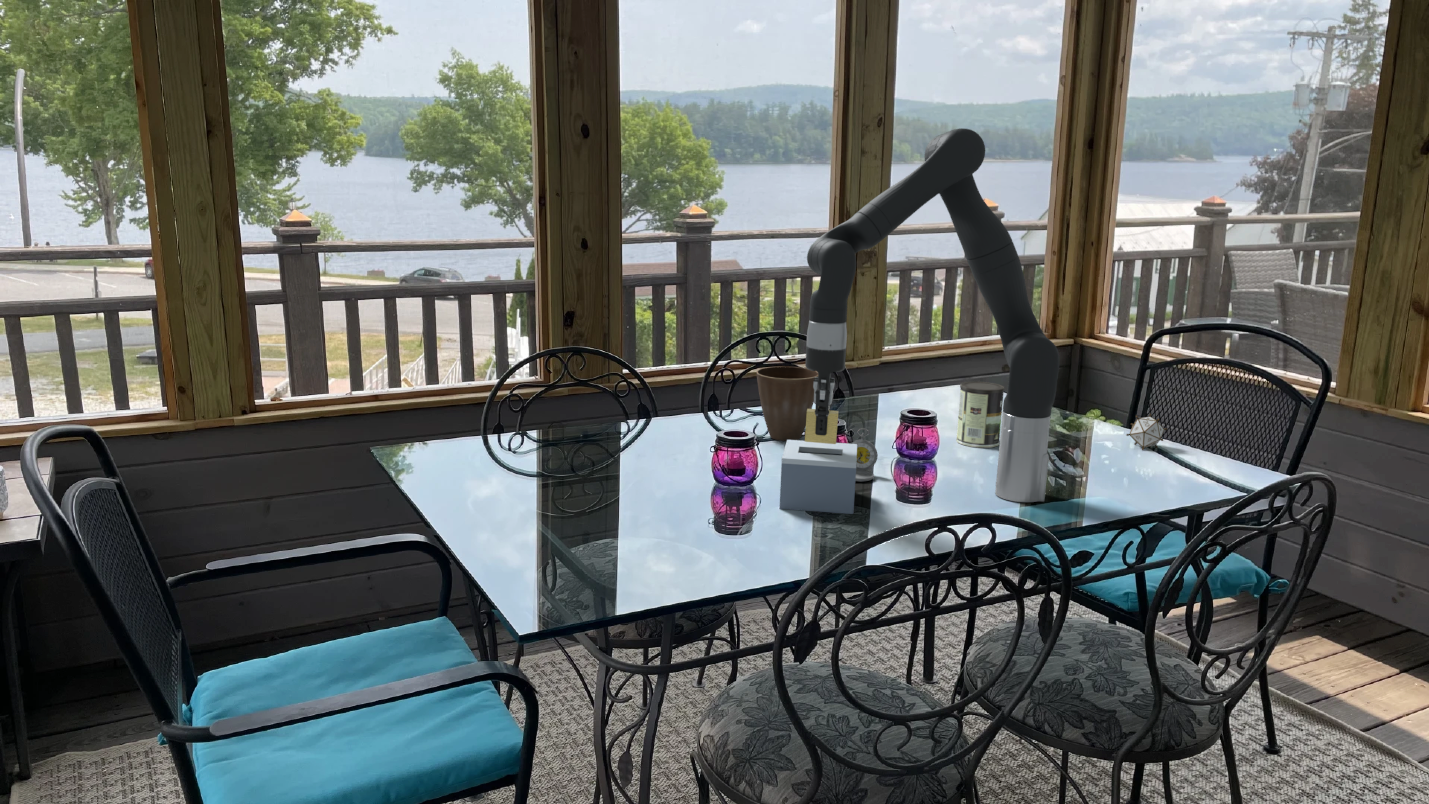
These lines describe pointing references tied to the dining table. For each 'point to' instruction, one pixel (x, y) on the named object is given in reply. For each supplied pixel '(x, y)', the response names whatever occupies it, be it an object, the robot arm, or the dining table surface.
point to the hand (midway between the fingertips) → (821, 432)
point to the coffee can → (980, 414)
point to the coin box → (818, 476)
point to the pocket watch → (865, 458)
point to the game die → (1146, 432)
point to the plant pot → (786, 400)
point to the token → (831, 428)
